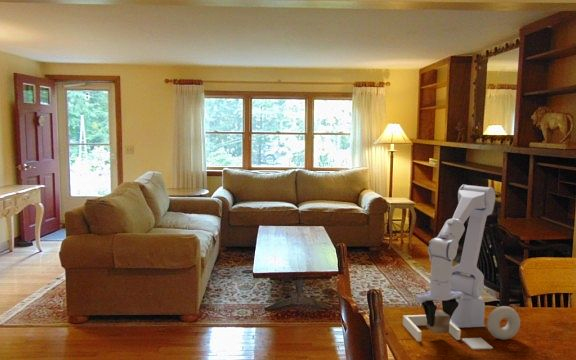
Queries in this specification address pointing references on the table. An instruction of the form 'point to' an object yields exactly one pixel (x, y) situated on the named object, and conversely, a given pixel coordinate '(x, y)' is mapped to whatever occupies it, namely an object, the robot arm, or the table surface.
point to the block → (440, 322)
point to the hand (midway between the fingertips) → (438, 324)
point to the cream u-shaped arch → (415, 320)
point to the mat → (476, 343)
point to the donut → (512, 322)
